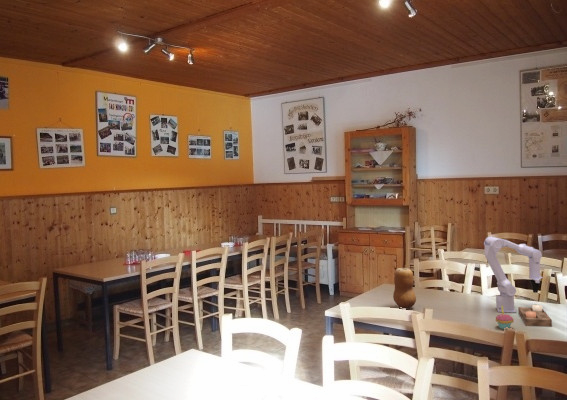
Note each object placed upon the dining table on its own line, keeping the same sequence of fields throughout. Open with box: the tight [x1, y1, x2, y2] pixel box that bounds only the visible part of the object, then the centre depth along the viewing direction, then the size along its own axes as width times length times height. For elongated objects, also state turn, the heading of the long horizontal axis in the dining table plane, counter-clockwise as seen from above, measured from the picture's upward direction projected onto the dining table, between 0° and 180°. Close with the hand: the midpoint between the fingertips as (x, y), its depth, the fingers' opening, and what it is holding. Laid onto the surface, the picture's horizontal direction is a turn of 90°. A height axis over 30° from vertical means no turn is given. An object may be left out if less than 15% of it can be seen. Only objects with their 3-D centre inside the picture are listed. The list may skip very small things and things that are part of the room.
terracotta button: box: [526, 311, 536, 318], centre depth 251 cm, size 5×5×5 cm
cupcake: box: [495, 306, 514, 330], centre depth 244 cm, size 9×8×12 cm
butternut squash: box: [392, 267, 417, 309], centre depth 288 cm, size 14×13×25 cm
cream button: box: [531, 304, 543, 312], centre depth 259 cm, size 5×5×5 cm
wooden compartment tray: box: [517, 306, 553, 328], centre depth 255 cm, size 12×22×4 cm, turn 163°
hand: (535, 292), depth 274 cm, fingers closed
